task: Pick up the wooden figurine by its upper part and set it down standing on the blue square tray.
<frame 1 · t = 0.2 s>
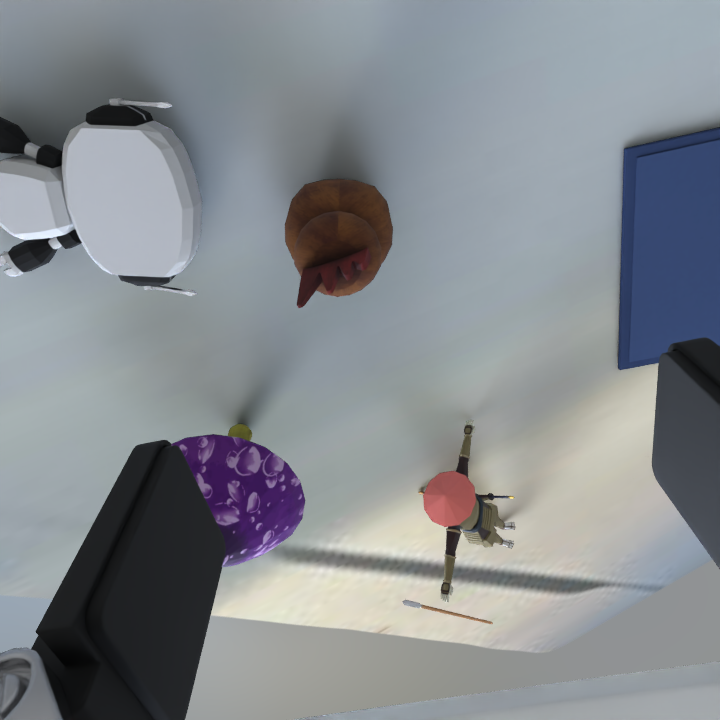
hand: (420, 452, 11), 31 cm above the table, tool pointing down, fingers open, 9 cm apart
robot toy: (102, 190, 38), on the table
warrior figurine: (459, 497, 54), on the table
decorative mushroom: (242, 427, 49), on the table
wooden figurine: (340, 210, 39), on the table
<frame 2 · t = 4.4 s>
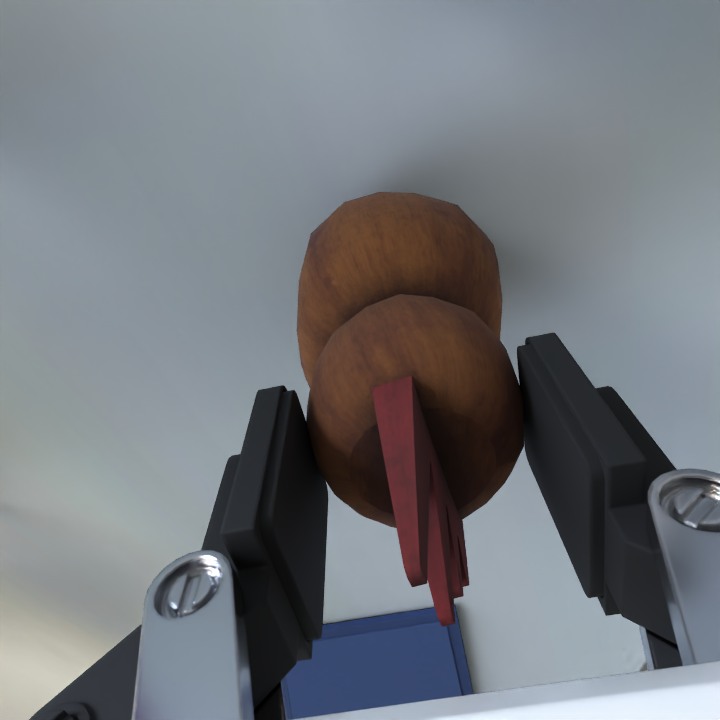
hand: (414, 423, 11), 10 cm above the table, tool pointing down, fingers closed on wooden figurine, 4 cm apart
wooden figurine: (386, 262, 20), on the table, touching gripper
blue square tray: (334, 712, 35), on the table
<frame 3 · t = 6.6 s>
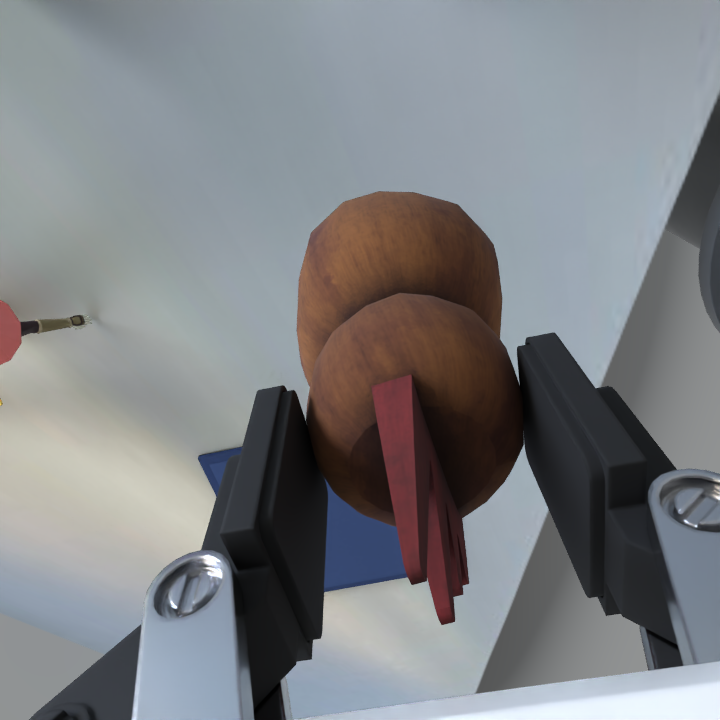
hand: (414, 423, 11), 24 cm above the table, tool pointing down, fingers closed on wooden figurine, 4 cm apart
wooden figurine: (386, 261, 20), point 14 cm above the table, touching gripper
blue square tray: (337, 514, 46), on the table
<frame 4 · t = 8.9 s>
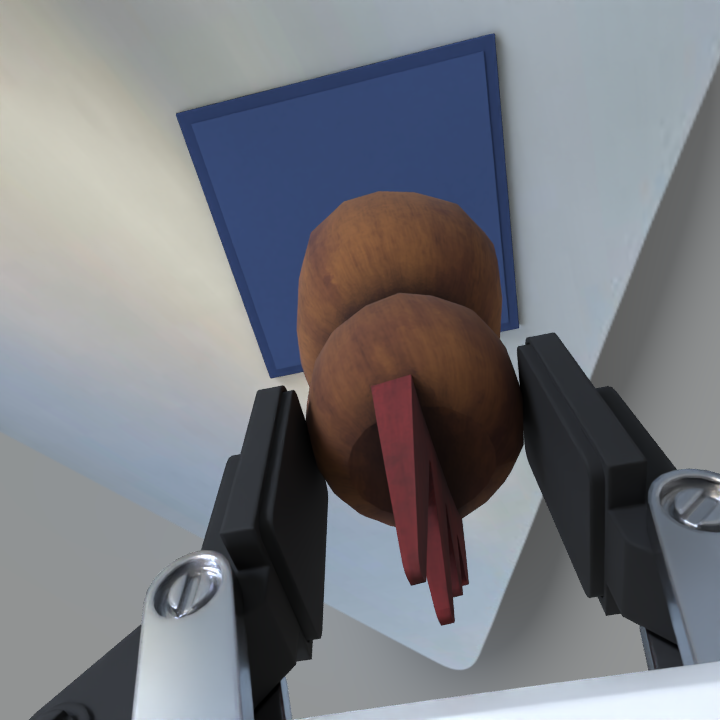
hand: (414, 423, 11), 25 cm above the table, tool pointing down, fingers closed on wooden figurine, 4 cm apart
wooden figurine: (386, 261, 20), point 15 cm above the table, touching gripper
blue square tray: (365, 230, 34), on the table
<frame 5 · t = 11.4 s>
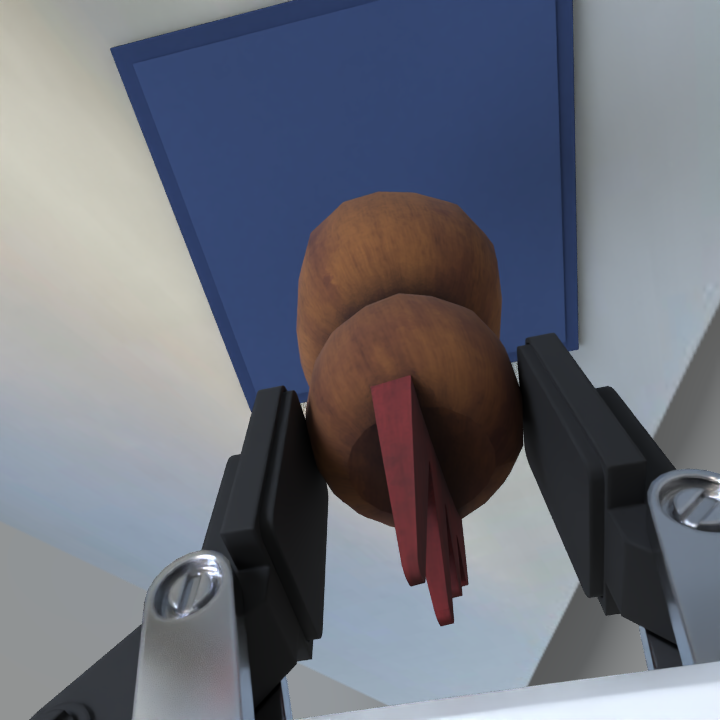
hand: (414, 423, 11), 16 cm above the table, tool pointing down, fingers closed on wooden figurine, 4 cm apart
wooden figurine: (385, 261, 20), point 6 cm above the table, touching gripper
blue square tray: (377, 218, 25), on the table
when the fingers open (10 cm above the table, at t = 13.4 s): wooden figurine stays where it is, resting on blue square tray.
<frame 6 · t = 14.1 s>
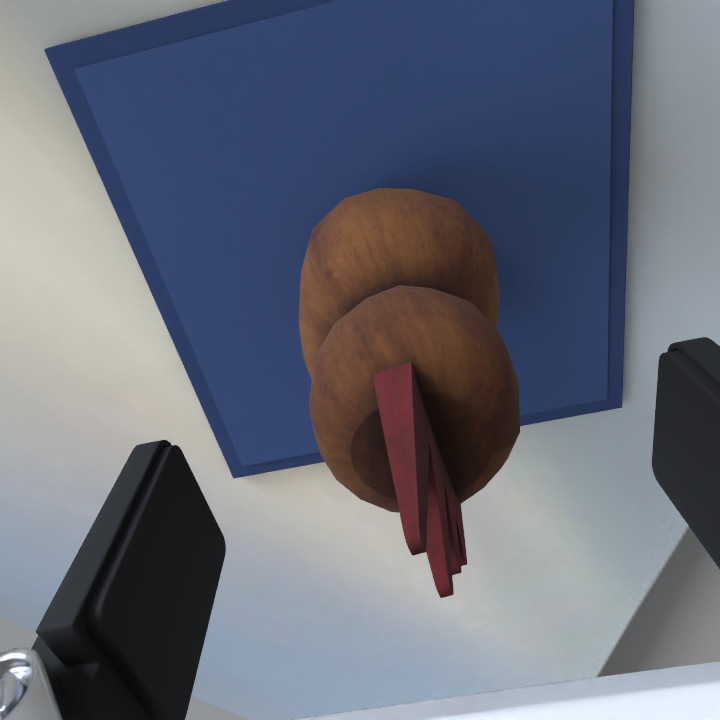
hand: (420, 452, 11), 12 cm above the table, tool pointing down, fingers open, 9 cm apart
wooden figurine: (385, 257, 20), resting on blue square tray
blue square tray: (383, 256, 21), on the table
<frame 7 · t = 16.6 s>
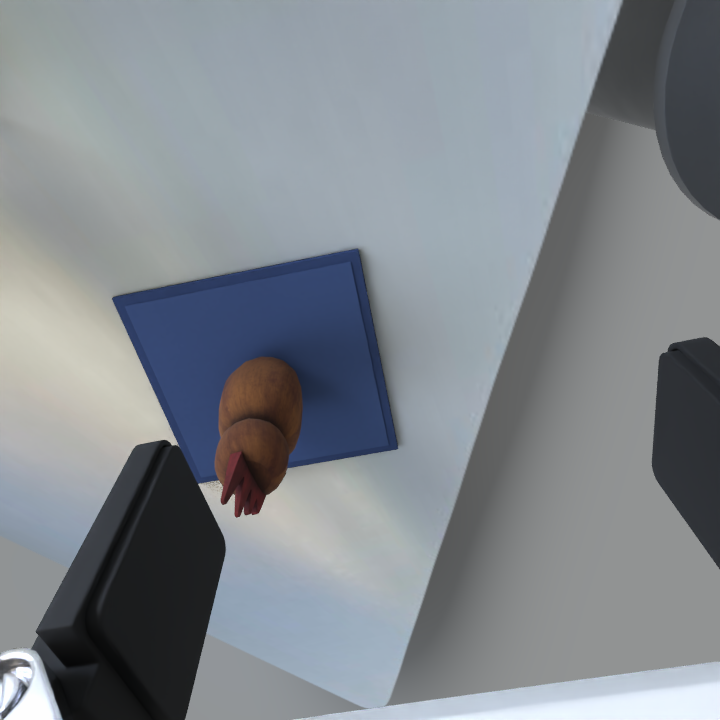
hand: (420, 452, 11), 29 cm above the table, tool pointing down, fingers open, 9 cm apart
wooden figurine: (268, 379, 43), resting on blue square tray
blue square tray: (268, 378, 43), on the table
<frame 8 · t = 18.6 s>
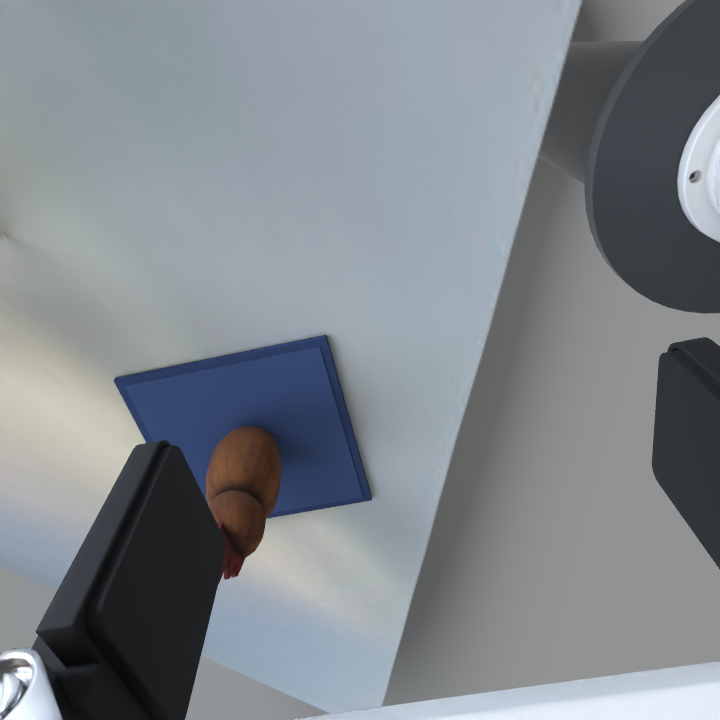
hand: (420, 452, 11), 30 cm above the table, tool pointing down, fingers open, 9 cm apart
wooden figurine: (253, 443, 48), resting on blue square tray
blue square tray: (252, 442, 49), on the table
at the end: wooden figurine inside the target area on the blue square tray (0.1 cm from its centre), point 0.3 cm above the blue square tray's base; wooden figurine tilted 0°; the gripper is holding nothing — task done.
